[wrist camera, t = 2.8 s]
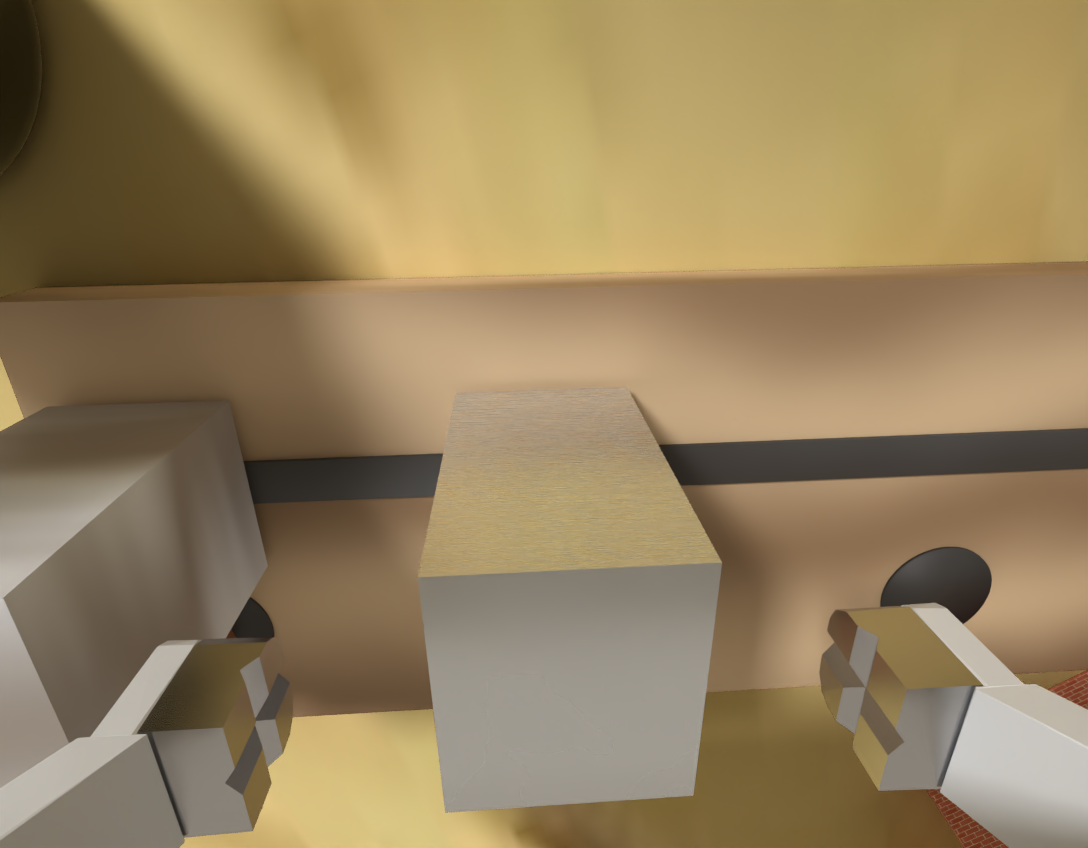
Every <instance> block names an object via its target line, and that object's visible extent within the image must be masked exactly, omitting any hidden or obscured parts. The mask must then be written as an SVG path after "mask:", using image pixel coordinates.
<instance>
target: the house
mask: <svg viewBox="0 0 1088 848" xmlns="http://www.w3.org/2000/svg"><path fill="white" fill-rule="evenodd" d="M1047 690H1049V691H1051V692H1053V693H1055V694H1057V695H1059V696H1061V697H1063V698H1065V699H1067V700H1069V701H1071V702H1073V703H1075V704H1077V705H1079V706H1081V707H1083V708H1085V709H1087V710H1088V670H1087V671H1085V672H1083V673H1081V674H1079V675H1077V676H1074V677H1072V678H1070V679H1068V680H1066V681H1064V682H1062V683H1060V684H1058V685H1056V686H1054V687H1051V688H1049V689H1047ZM940 790H941V789H926V791H927V792H928V794H929V795H930V797H931V798H932V800H933V801H934V803H935V805H936V806H937V808H938V809H939V811H940V812H941V814H942V815H943V817H944V818H945V820H946V821H947V823H948V824H949V826H950V828H951V829H952V831H953V832H954V834H955V835H956V837H957V838H958V840H959V841H960V843H961V844H962V846H963V847H964V848H1009V847H1008V846H1006V845H1005V844H1004V843H1003V842H1001V841H1000V840H999V839H998V838H996V837H995V836H994V835H993V834H991V833H990V832H989V831H988V830H986V829H985V828H984V827H983V826H981V825H980V824H979V823H978V822H976V821H975V820H974V819H973V818H972V817H970V816H969V815H968V814H967V813H965V812H964V811H963V810H962V809H960V808H959V807H958V806H957V805H955V804H954V803H953V802H952V801H950V800H949V799H948V798H947V797H945V796H944V795H943V794H942V793H940Z"/></svg>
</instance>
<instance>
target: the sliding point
mask: <svg viewBox="0 0 1088 848" xmlns="http://www.w3.org/2000/svg"><path fill="white" fill-rule="evenodd" d="M721 567H722V561H721V560H720V558H719V556H718V554H717V552H716V550H715V548H714V547H713V545H712V543H711V541H710V539H709V537H708V536H707V534H706V532H705V530H704V528H703V526H702V525H701V523H700V521H699V519H698V517H697V515H696V514H695V512H694V510H693V508H692V506H691V504H690V502H689V501H688V499H687V497H686V495H685V493H684V491H683V490H682V488H681V486H680V484H679V482H678V480H677V479H676V477H675V475H674V473H673V471H672V469H671V468H670V466H669V464H668V462H667V460H666V458H665V456H664V455H663V453H662V451H661V449H660V447H659V445H658V444H657V442H656V440H655V438H654V436H653V434H652V433H651V431H650V429H649V427H648V425H647V423H646V421H645V420H644V418H643V416H642V414H641V412H640V410H639V409H638V407H637V405H636V403H635V401H634V399H633V398H632V396H631V394H630V392H629V390H628V388H627V387H605V388H575V389H546V390H517V391H488V392H458V393H456V394H455V399H454V404H453V409H452V414H451V418H450V423H449V428H448V433H447V438H446V443H445V448H444V452H443V457H442V462H441V467H440V472H439V477H438V482H437V486H436V491H435V496H434V501H433V506H432V511H431V516H430V520H429V525H428V530H427V535H426V540H425V545H424V550H423V554H422V559H421V564H420V569H419V574H418V584H419V592H420V601H421V609H422V618H423V626H424V635H425V643H426V652H427V660H428V669H429V677H430V686H431V694H432V703H433V711H434V720H435V728H436V737H437V745H438V754H439V762H440V771H441V779H442V788H443V796H444V805H445V813H448V812H462V811H477V810H491V809H506V808H521V807H535V806H550V805H565V804H579V803H594V802H608V801H623V800H638V799H652V798H667V797H681V796H693V795H694V787H695V779H696V771H697V763H698V755H699V747H700V738H701V730H702V722H703V714H704V706H705V698H706V690H707V681H708V673H709V665H710V657H711V649H712V641H713V633H714V624H715V616H716V608H717V600H718V592H719V584H720V576H721Z"/></svg>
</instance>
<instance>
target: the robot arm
mask: <svg viewBox="0 0 1088 848" xmlns="http://www.w3.org/2000/svg"><path fill="white" fill-rule="evenodd" d="M827 632H828V633H829V635H830V636H831V638H832V639H833V641H834V643H833V644H832V645H831V646H830V647H829V648H828V649H827V650H826V651H825V652H824V653H823V654H822V658H821V664H820V670H819V675H820V682H821V689H822V693H823V696H824V699H825V701H826V704H827V706H828V708H829V710H830V712H831V713H832V715H833V717H834V719H835V720H836V721H837V722H838V723H840V724H841V725H843V726H844V727H845V728H847V729H848V730H850V731H851V732H853V733H854V739H853V745H852V749H853V750H854V752H855V753H856V755H857V757H858V758H859V760H860V762H861V763H862V765H863V767H864V768H865V770H866V772H867V773H868V775H869V776H870V778H871V780H872V781H873V783H874V785H875V786H876V788H877V790H878V791H890V790H919V789H941V790H940V793H942V794H943V795H944V796H945V797H947V798H948V799H949V800H950V801H952V802H953V803H954V804H955V805H957V806H958V807H959V808H960V809H962V810H963V811H964V812H965V813H967V814H968V815H969V816H970V817H972V818H973V819H974V820H975V821H976V822H978V823H979V824H980V825H981V826H983V827H984V828H985V829H986V830H988V831H989V832H990V833H991V834H993V835H994V836H995V837H996V838H998V839H999V840H1000V841H1001V842H1003V843H1004V844H1005V845H1006V846H1008V847H1009V848H1088V710H1087V709H1085V708H1083V707H1081V706H1079V705H1077V704H1075V703H1073V702H1071V701H1069V700H1067V699H1065V698H1063V697H1061V696H1059V695H1057V694H1055V693H1053V692H1051V691H1049V690H1047V689H1044V688H1042V687H1040V686H1038V685H1036V684H1023V683H1022V682H1021V681H1020V680H1019V679H1018V678H1017V677H1016V676H1015V675H1014V674H1013V673H1012V672H1011V671H1010V670H1009V669H1008V668H1007V667H1006V666H1005V665H1004V664H1003V663H1002V662H1001V661H1000V660H999V659H998V658H997V657H996V656H995V655H994V654H993V653H992V652H991V651H990V650H989V649H988V648H987V647H986V646H985V645H984V644H983V643H982V642H980V641H979V640H978V639H977V638H976V637H975V636H974V635H973V634H972V633H971V632H970V631H969V630H968V629H967V628H966V627H965V626H964V625H963V624H962V623H961V622H960V621H959V620H958V619H957V618H956V617H955V616H954V615H953V614H952V613H951V612H950V611H949V610H948V609H947V608H945V607H944V606H941V605H939V604H937V603H924V604H910V605H902V606H889V607H871V608H853V609H836V610H835V611H834V613H833V614H832V615H831V617H830V620H829V624H828V628H827ZM284 659H285V658H284V654H283V651H282V647H281V643H280V641H279V640H278V639H276V638H274V637H260V638H221V639H203V640H171V641H166V642H164V643H163V644H161V645H159V646H158V647H157V648H156V649H155V650H154V651H153V653H152V654H151V656H150V657H149V658H148V660H147V661H146V662H145V664H144V665H143V666H142V668H141V669H140V670H139V672H138V673H137V674H136V676H135V677H134V678H133V680H132V681H131V682H130V684H129V685H128V687H127V688H126V689H125V691H124V692H123V693H122V695H121V696H120V697H119V699H118V700H117V701H116V703H115V704H114V705H113V707H112V708H111V709H110V711H109V712H108V713H107V715H106V716H105V718H104V719H103V720H102V722H101V723H100V724H99V726H98V727H97V728H96V730H95V731H94V732H93V734H92V735H91V736H90V737H85V738H77V739H75V740H74V741H72V742H71V743H69V744H68V745H66V746H64V747H63V748H61V749H60V750H58V751H57V752H55V753H54V754H52V755H51V756H49V757H47V758H46V759H44V760H43V761H41V762H40V763H38V764H37V765H35V766H34V767H32V768H31V769H29V770H27V771H26V772H24V773H23V774H21V775H20V776H18V777H17V778H15V779H14V780H12V781H10V782H9V783H7V784H6V785H4V786H3V787H1V788H0V848H179V847H180V846H181V845H182V844H183V843H184V841H185V840H184V838H185V837H196V836H206V835H217V834H228V833H238V832H249V831H253V829H254V827H255V824H256V822H257V819H258V817H259V814H260V811H261V809H262V806H263V804H264V801H265V799H266V796H267V793H268V791H269V788H270V786H271V779H270V775H269V771H268V766H269V765H270V764H272V763H273V762H274V761H275V760H276V759H277V758H278V757H279V756H280V755H282V754H283V752H284V749H285V746H286V744H287V741H288V738H289V735H290V730H291V724H292V718H293V694H292V689H291V685H290V682H289V681H287V680H286V679H285V678H284V677H283V676H282V675H280V674H279V670H280V668H281V666H282V664H283V661H284Z"/></svg>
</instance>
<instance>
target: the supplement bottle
mask: <svg viewBox="0 0 1088 848" xmlns="http://www.w3.org/2000/svg"><path fill="white" fill-rule="evenodd" d="M41 81H42V56H41V46H40V37H39V32H38V27H37V22H36V17H35V13H34V10H33V6H32V3H31V0H0V175H1V174H2V173H3V172H4V171H5V170H6V169H7V168H8V166H9V165H10V164H11V163H12V162H13V160H14V159H15V158H16V156H17V155H18V153H19V152H20V150H21V148H22V147H23V145H24V143H25V141H26V139H27V137H28V135H29V133H30V131H31V128H32V126H33V122H34V119H35V116H36V113H37V109H38V104H39V99H40V92H41Z"/></svg>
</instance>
